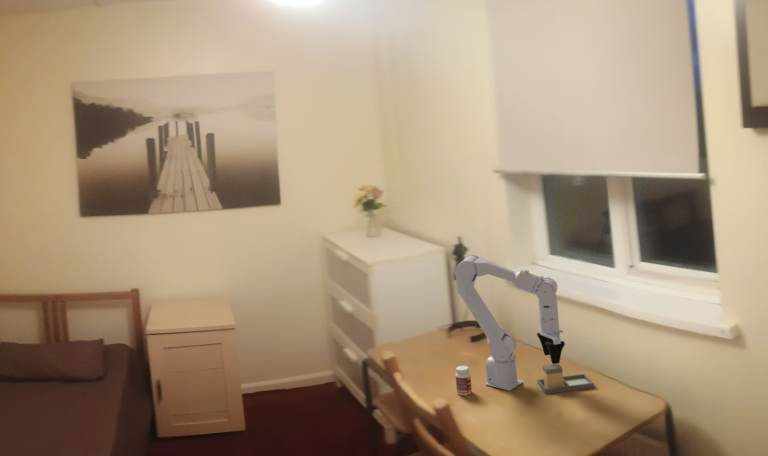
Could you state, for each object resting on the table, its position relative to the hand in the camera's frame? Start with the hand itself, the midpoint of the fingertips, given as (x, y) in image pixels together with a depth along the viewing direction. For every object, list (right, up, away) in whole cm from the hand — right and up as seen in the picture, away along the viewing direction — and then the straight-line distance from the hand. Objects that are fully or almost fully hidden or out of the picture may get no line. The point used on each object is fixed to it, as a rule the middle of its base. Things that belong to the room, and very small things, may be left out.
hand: (551, 358), depth 203 cm
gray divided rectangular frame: (+5, -9, +2) cm, 10 cm away
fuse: (+1, -9, +1) cm, 10 cm away
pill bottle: (-27, -12, +5) cm, 30 cm away
